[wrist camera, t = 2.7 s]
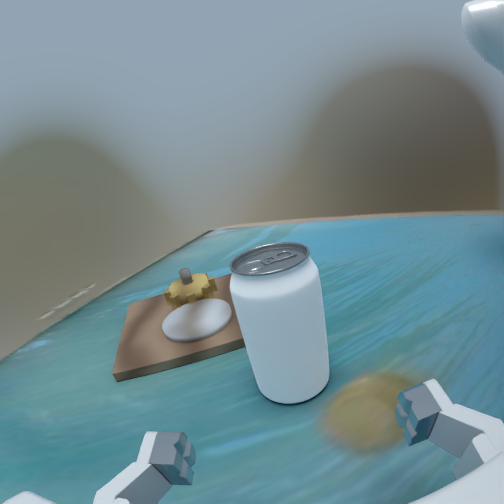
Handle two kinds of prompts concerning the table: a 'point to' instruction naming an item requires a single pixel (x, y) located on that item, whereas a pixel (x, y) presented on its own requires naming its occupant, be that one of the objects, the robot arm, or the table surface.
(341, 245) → the table surface
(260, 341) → the can
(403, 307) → the table surface
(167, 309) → the board
